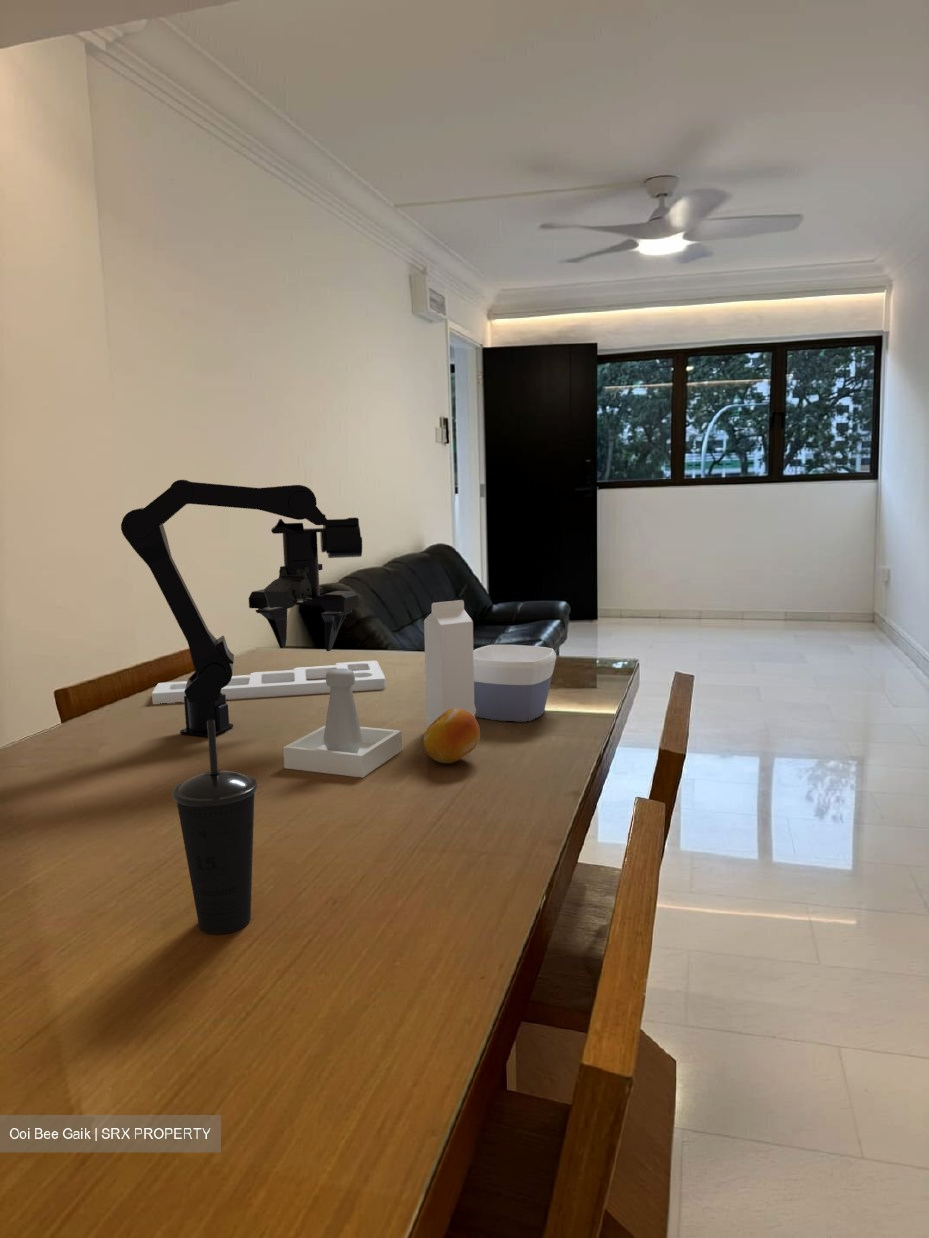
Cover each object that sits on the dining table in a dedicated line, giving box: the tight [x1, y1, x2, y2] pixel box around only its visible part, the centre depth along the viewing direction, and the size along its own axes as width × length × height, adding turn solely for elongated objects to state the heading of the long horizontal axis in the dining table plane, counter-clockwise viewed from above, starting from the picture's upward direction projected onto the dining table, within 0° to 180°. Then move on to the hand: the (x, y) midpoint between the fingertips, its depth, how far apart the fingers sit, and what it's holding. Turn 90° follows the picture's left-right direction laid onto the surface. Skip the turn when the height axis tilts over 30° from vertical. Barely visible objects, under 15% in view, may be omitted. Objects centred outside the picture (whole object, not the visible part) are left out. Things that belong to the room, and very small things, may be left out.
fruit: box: [423, 708, 481, 764], centre depth 128 cm, size 8×9×8 cm
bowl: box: [473, 644, 557, 723], centre depth 154 cm, size 15×15×11 cm
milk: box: [423, 599, 476, 730], centre depth 142 cm, size 6×6×22 cm
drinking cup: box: [172, 720, 258, 935], centre depth 82 cm, size 8×8×20 cm
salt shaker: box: [324, 668, 362, 753], centre depth 130 cm, size 6×6×13 cm
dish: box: [283, 725, 403, 778], centre depth 131 cm, size 13×13×3 cm
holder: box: [151, 660, 387, 705], centre depth 179 cm, size 45×18×3 cm, turn 101°
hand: (305, 649), depth 149 cm, fingers open, 9 cm apart
